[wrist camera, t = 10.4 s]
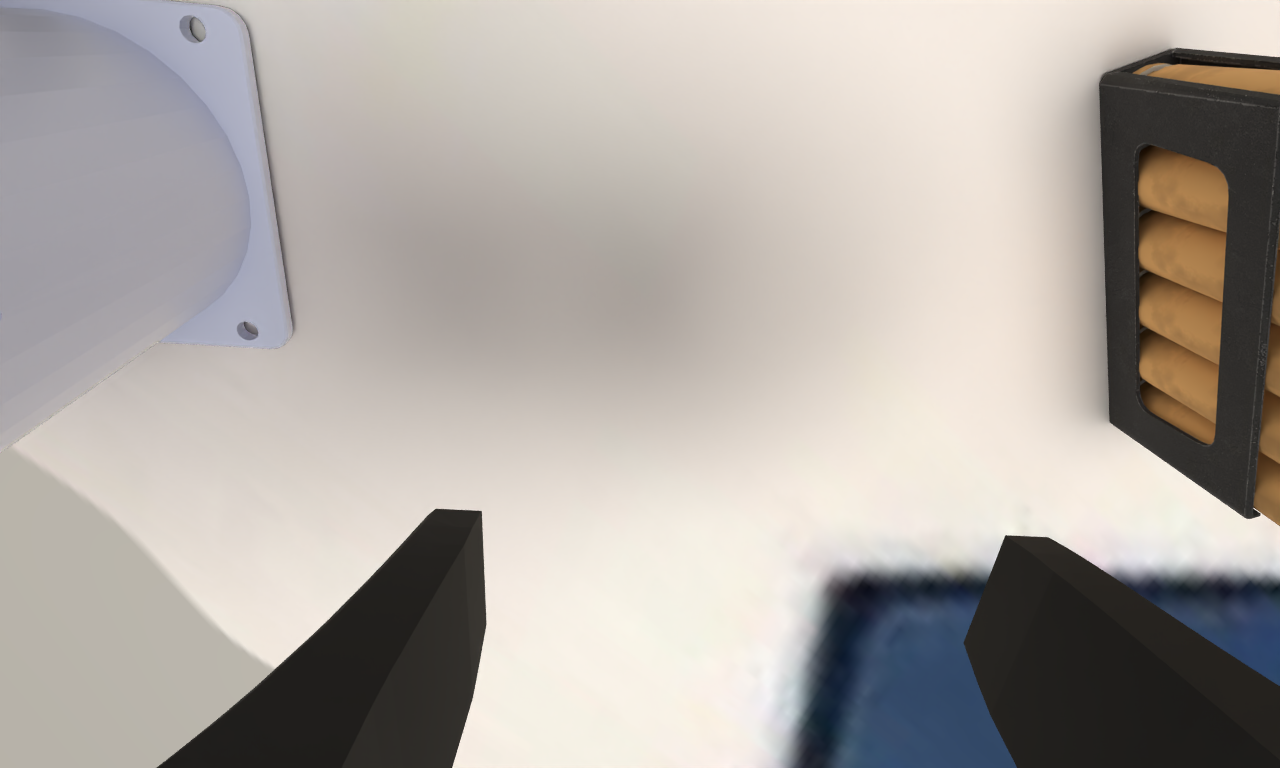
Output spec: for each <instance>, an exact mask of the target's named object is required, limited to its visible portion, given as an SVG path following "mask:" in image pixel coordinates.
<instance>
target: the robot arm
mask: <svg viewBox="0 0 1280 768" xmlns="http://www.w3.org/2000/svg"><path fill="white" fill-rule="evenodd" d="M193 17H197V18H198V19H199V20H200V21H201V22H202V23H203V25H204V27H205V30H206V35H205V39H204V40H203V41H202V42H200V41H198V40H197V39H195V38H194V37H193V36H192V34H191V31H190V29H189V23H190V20H191V19H192V18H193ZM244 322H249V323H252V324H253V325H254V326H255V327H256V328H257V330H258V334H257V335H255V334H252V333H250V332H248V331H247V330H246V329H245V327H244ZM292 331H293V327H292V320H291V313H290V307H289V300H288V293H287V287H286V280H285V273H284V266H283V260H282V253H281V246H280V240H279V233H278V226H277V219H276V213H275V206H274V199H273V193H272V186H271V179H270V172H269V166H268V159H267V152H266V146H265V139H264V132H263V125H262V119H261V112H260V105H259V99H258V92H257V85H256V78H255V72H254V65H253V58H252V52H251V45H250V38H249V33H248V30H247V27H246V24H245V23H244V21H243V20H242V19H241V17H240V16H239V15H238V14H237V13H235V12H234V11H233V10H231V9H229V8H226V7H223V6H217V5H207V4H197V3H188V2H178V1H168V0H0V453H1V452H3V451H4V450H6V449H7V448H8V447H10V446H11V445H13V444H14V443H16V442H17V441H18V440H20V439H21V438H23V437H24V436H25V435H27V434H28V433H30V432H31V431H33V430H34V429H35V428H37V427H38V426H40V425H41V424H43V423H44V422H45V421H47V420H48V419H50V418H51V417H52V416H54V415H55V414H57V413H58V412H60V411H61V410H62V409H64V408H65V407H67V406H68V405H70V404H71V403H72V402H74V401H75V400H77V399H78V398H79V397H81V396H82V395H84V394H85V393H87V392H88V391H89V390H91V389H92V388H94V387H95V386H97V385H98V384H99V383H101V382H102V381H104V380H105V379H107V378H108V377H109V376H111V375H112V374H114V373H115V372H116V371H118V370H119V369H121V368H122V367H124V366H125V365H126V364H128V363H129V362H131V361H132V360H134V359H135V358H136V357H138V356H139V355H141V354H142V353H143V352H145V351H146V350H148V349H149V348H151V347H152V346H153V345H155V344H156V343H158V342H159V343H176V344H193V345H211V346H228V347H245V348H262V349H276V348H280V347H281V346H283V345H285V344H286V343H287V342H288V341H289V339H290V338H291V336H292ZM485 629H486V604H485V580H484V556H483V531H482V511H471V510H449V509H435V510H434V511H433V512H431V513H430V514H429V515H428V516H427V517H426V518H425V519H424V520H423V521H422V522H421V523H420V525H419V526H418V527H417V528H416V529H415V530H414V531H413V532H412V533H411V535H410V536H409V537H408V538H407V539H406V540H405V541H404V542H403V543H402V544H401V545H400V547H399V548H398V549H397V550H396V551H395V552H394V553H393V554H392V555H391V556H390V557H389V558H388V559H387V561H386V562H385V563H384V564H383V565H382V566H381V567H380V568H379V569H378V570H377V571H376V572H375V573H374V574H373V575H372V576H371V577H370V578H369V580H368V581H367V582H366V583H365V584H364V585H363V586H362V587H361V588H360V589H359V590H358V591H357V592H356V593H355V594H354V595H353V596H352V597H351V598H350V599H349V600H348V601H347V602H346V603H345V604H344V605H343V606H342V607H341V608H340V609H339V610H338V611H337V612H336V613H335V614H334V615H333V616H332V617H331V618H330V619H329V620H328V621H327V622H326V623H325V624H324V625H323V626H321V627H320V628H319V629H318V630H317V631H316V632H315V633H314V634H313V635H312V636H311V637H310V638H309V639H308V640H307V641H305V642H304V643H303V644H302V645H301V646H300V647H299V648H298V649H297V650H296V651H294V652H293V653H292V654H291V655H290V656H289V657H288V658H287V659H286V660H285V661H284V662H282V663H281V664H280V665H279V666H278V667H277V668H276V669H275V670H274V671H273V672H272V673H270V674H269V675H268V676H267V677H266V678H265V679H264V680H263V681H262V682H261V683H259V684H258V685H257V686H256V687H255V688H254V689H253V690H252V691H250V692H249V693H248V694H247V695H246V696H244V697H243V698H242V699H241V700H240V701H239V702H237V703H236V704H235V705H234V706H233V707H232V708H230V709H229V710H228V711H227V712H226V713H225V714H223V715H222V716H221V717H220V718H218V719H217V720H216V721H215V722H213V723H212V724H211V725H210V726H209V727H207V728H206V729H205V730H204V731H202V732H201V733H200V734H199V735H197V736H196V737H195V738H194V739H192V740H191V741H190V742H189V743H187V744H186V745H185V746H184V747H182V748H181V749H180V750H179V751H178V752H176V753H175V754H174V755H172V756H171V757H170V758H169V759H167V760H166V761H165V762H163V763H162V764H161V765H159V766H158V767H157V768H452V766H453V763H454V760H455V756H456V753H457V749H458V746H459V743H460V739H461V736H462V733H463V729H464V726H465V722H466V719H467V716H468V712H469V709H470V705H471V702H472V698H473V694H474V689H475V683H476V678H477V673H478V668H479V663H480V657H481V651H482V646H483V640H484V635H485ZM964 645H965V648H966V651H967V654H968V657H969V660H970V662H971V665H972V668H973V671H974V674H975V677H976V679H977V682H978V685H979V687H980V690H981V692H982V695H983V697H984V700H985V702H986V705H987V708H988V710H989V713H990V715H991V717H992V719H993V721H994V723H995V725H996V727H997V729H998V731H999V733H1000V735H1001V737H1002V739H1003V741H1004V743H1005V745H1006V747H1007V749H1008V751H1009V752H1010V754H1011V756H1012V758H1013V760H1014V762H1015V764H1016V766H1017V768H1280V686H1278V685H1277V684H1275V683H1274V682H1272V681H1270V680H1269V679H1267V678H1266V677H1264V676H1263V675H1261V674H1259V673H1258V672H1256V671H1255V670H1253V669H1252V668H1250V667H1248V666H1247V665H1245V664H1244V663H1242V662H1241V661H1239V660H1238V659H1236V658H1235V657H1233V656H1231V655H1230V654H1228V653H1227V652H1225V651H1224V650H1222V649H1221V648H1219V647H1218V646H1216V645H1215V644H1213V643H1212V642H1210V641H1208V640H1207V639H1205V638H1204V637H1202V636H1201V635H1199V634H1198V633H1196V632H1195V631H1193V630H1192V629H1190V628H1189V627H1187V626H1186V625H1184V624H1183V623H1181V622H1180V621H1178V620H1177V619H1175V618H1174V617H1172V616H1171V615H1169V614H1168V613H1166V612H1165V611H1163V610H1162V609H1160V608H1159V607H1157V606H1156V605H1154V604H1153V603H1151V602H1150V601H1148V600H1147V599H1145V598H1144V597H1142V596H1141V595H1139V594H1138V593H1136V592H1135V591H1133V590H1132V589H1130V588H1129V587H1127V586H1126V585H1124V584H1123V583H1121V582H1120V581H1118V580H1117V579H1115V578H1114V577H1112V576H1111V575H1109V574H1107V573H1106V572H1104V571H1103V570H1101V569H1100V568H1098V567H1097V566H1095V565H1094V564H1092V563H1090V562H1089V561H1087V560H1086V559H1084V558H1083V557H1081V556H1079V555H1078V554H1076V553H1074V552H1073V551H1071V550H1069V549H1068V548H1066V547H1064V546H1063V545H1061V544H1059V543H1057V542H1056V541H1054V540H1052V539H1050V538H1048V537H1029V536H1007V535H1005V538H1004V540H1003V543H1002V546H1001V548H1000V551H999V553H998V556H997V558H996V561H995V564H994V566H993V569H992V571H991V574H990V576H989V579H988V582H987V584H986V587H985V589H984V592H983V594H982V597H981V600H980V602H979V605H978V607H977V610H976V612H975V615H974V617H973V620H972V623H971V625H970V628H969V630H968V633H967V635H966V638H965V641H964Z"/></svg>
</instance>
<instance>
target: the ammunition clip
mask: <svg viewBox="0 0 1280 768" xmlns="http://www.w3.org/2000/svg"><path fill="white" fill-rule="evenodd" d="M1099 92H1100V124H1101V156H1102V189H1103V221H1104V253H1105V286H1106V318H1107V350H1108V383H1109V415H1110V423H1111V424H1113V425H1114V426H1115V427H1117V428H1118V429H1120V430H1121V431H1123V432H1124V433H1125V434H1127V435H1128V436H1130V437H1131V438H1132V439H1134V440H1135V441H1137V442H1138V443H1140V444H1141V445H1142V446H1144V447H1145V448H1147V449H1148V450H1150V451H1151V452H1152V453H1154V454H1155V455H1157V456H1158V457H1159V458H1161V459H1162V460H1164V461H1165V462H1167V463H1168V464H1169V465H1171V466H1172V467H1174V468H1175V469H1176V470H1178V471H1179V472H1181V473H1182V474H1184V475H1185V476H1186V477H1188V478H1189V479H1191V480H1192V481H1193V482H1195V483H1196V484H1198V485H1199V486H1201V487H1202V488H1203V489H1205V490H1206V491H1208V492H1209V493H1211V494H1212V495H1213V496H1215V497H1216V498H1218V499H1219V500H1220V501H1222V502H1223V503H1225V504H1226V505H1228V506H1229V507H1230V508H1232V509H1233V510H1235V511H1236V512H1237V513H1239V514H1240V515H1242V516H1243V517H1245V518H1247V519H1252V518H1255V517H1258V516H1260V513H1259V512H1261V513H1262V514H1264V515H1265V516H1266V517H1268V518H1269V519H1271V520H1272V521H1273V522H1275V523H1276V524H1278V525H1279V526H1280V57H1270V56H1259V55H1248V54H1237V53H1226V52H1215V51H1204V50H1193V49H1182V48H1175V49H1172V50H1170V51H1167V52H1164V53H1161V54H1159V55H1156V56H1153V57H1151V58H1148V59H1145V60H1142V61H1140V62H1137V63H1134V64H1131V65H1129V66H1126V67H1123V68H1121V69H1118V70H1115V71H1112V72H1110V73H1107V74H1106V75H1105V76H1104V78H1103V79H1102V81H1101V82H1100V83H1099ZM1253 507H1254V508H1255V509H1256V510H1258V511H1259V512H1257V511H1256V510H1254V509H1253Z"/></svg>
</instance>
